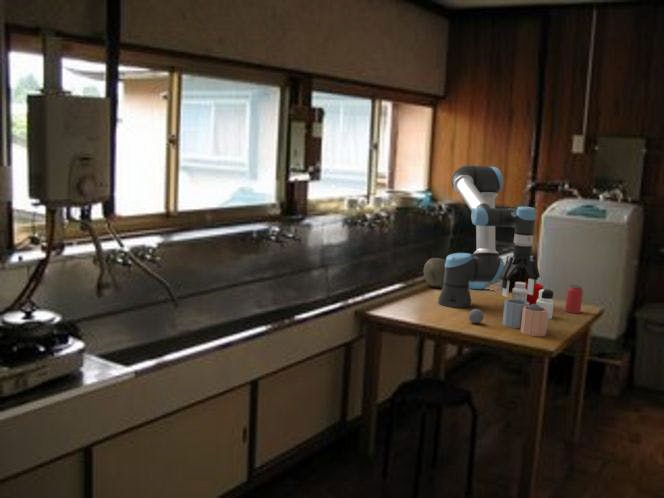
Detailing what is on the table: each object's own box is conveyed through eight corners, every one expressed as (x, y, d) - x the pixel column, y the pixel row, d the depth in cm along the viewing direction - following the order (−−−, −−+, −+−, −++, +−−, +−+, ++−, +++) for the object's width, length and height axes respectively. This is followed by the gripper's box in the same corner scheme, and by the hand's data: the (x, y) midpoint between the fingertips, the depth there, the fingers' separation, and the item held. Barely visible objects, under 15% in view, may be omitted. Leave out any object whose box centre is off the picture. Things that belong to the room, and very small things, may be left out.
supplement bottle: (515, 308, 339) (518, 280, 337) (528, 311, 334) (531, 283, 332) (507, 309, 334) (510, 282, 332) (520, 313, 329) (523, 285, 327)
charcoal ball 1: (465, 321, 307) (466, 307, 306) (476, 320, 310) (477, 307, 309) (474, 325, 302) (475, 311, 301) (485, 324, 305) (487, 310, 304)
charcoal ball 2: (525, 320, 295) (522, 306, 299) (536, 322, 298) (533, 308, 301) (535, 314, 291) (531, 300, 294) (546, 316, 294) (543, 302, 297)
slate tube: (497, 322, 309) (499, 299, 307) (515, 321, 314) (518, 298, 312) (513, 328, 301) (515, 305, 299) (531, 327, 305) (534, 303, 304)
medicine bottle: (552, 316, 328) (555, 289, 326) (551, 319, 321) (554, 292, 319) (535, 313, 330) (538, 287, 328) (534, 317, 323) (537, 290, 321)
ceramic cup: (533, 300, 357) (535, 280, 355) (544, 309, 340) (547, 288, 338) (507, 299, 356) (509, 279, 355) (517, 307, 339) (519, 286, 338)
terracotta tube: (515, 330, 298) (517, 306, 297) (534, 328, 303) (536, 305, 301) (532, 337, 290) (534, 312, 288) (551, 335, 295) (553, 310, 293)
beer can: (581, 314, 334) (584, 288, 332) (566, 312, 336) (569, 287, 334) (579, 311, 341) (582, 285, 339) (564, 309, 342) (567, 284, 340)
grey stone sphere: (455, 289, 373) (457, 259, 371) (433, 290, 366) (436, 261, 363) (437, 283, 385) (439, 255, 382) (415, 284, 377) (418, 256, 375)
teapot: (483, 285, 389) (485, 265, 387) (494, 291, 374) (496, 271, 372) (456, 284, 386) (458, 265, 385) (466, 290, 372) (468, 270, 370)
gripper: (505, 246, 293) (500, 298, 296) (552, 245, 305) (546, 295, 308) (493, 243, 299) (488, 294, 303) (539, 242, 311) (533, 291, 314)
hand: (517, 295), depth 305 cm, fingers open, 13 cm apart
